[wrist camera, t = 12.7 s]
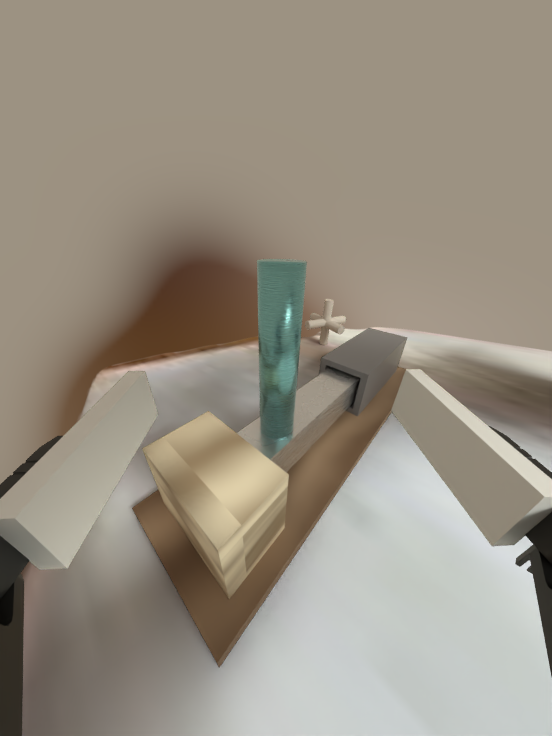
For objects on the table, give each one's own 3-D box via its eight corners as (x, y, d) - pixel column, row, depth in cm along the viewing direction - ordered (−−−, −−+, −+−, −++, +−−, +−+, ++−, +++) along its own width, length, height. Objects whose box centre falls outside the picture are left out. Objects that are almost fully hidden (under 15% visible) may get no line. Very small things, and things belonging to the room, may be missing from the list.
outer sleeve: (396, 371, 40) (407, 337, 37) (357, 416, 29) (368, 375, 26) (361, 359, 44) (369, 327, 40) (316, 396, 33) (321, 357, 30)
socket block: (284, 528, 18) (288, 474, 15) (229, 599, 14) (217, 550, 11) (217, 462, 23) (208, 411, 20) (163, 502, 19) (142, 448, 16)
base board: (414, 378, 40) (416, 372, 40) (219, 667, 13) (217, 663, 12) (351, 357, 47) (352, 351, 46) (136, 515, 20) (132, 508, 19)
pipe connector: (294, 339, 55) (296, 297, 50) (326, 333, 59) (332, 293, 54) (318, 356, 47) (324, 308, 42) (354, 347, 51) (364, 303, 46)
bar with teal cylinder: (364, 390, 32) (401, 254, 24) (233, 528, 17) (196, 275, 8) (339, 380, 35) (364, 252, 26) (203, 492, 19) (149, 265, 10)
